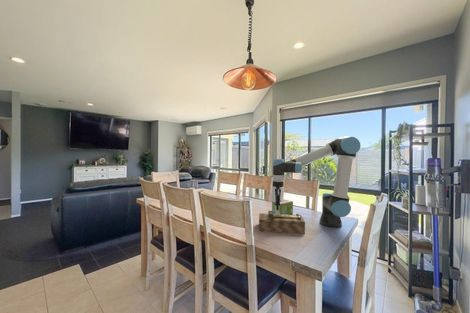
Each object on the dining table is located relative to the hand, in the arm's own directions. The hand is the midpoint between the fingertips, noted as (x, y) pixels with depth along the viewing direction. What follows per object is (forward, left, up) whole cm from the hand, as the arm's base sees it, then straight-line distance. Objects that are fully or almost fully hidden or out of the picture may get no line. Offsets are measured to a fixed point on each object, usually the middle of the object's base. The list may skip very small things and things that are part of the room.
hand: (277, 214), depth 146 cm
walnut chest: (-2, 0, -10) cm, 10 cm away
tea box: (-5, -20, -10) cm, 23 cm away
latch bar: (-5, 0, -1) cm, 5 cm away
